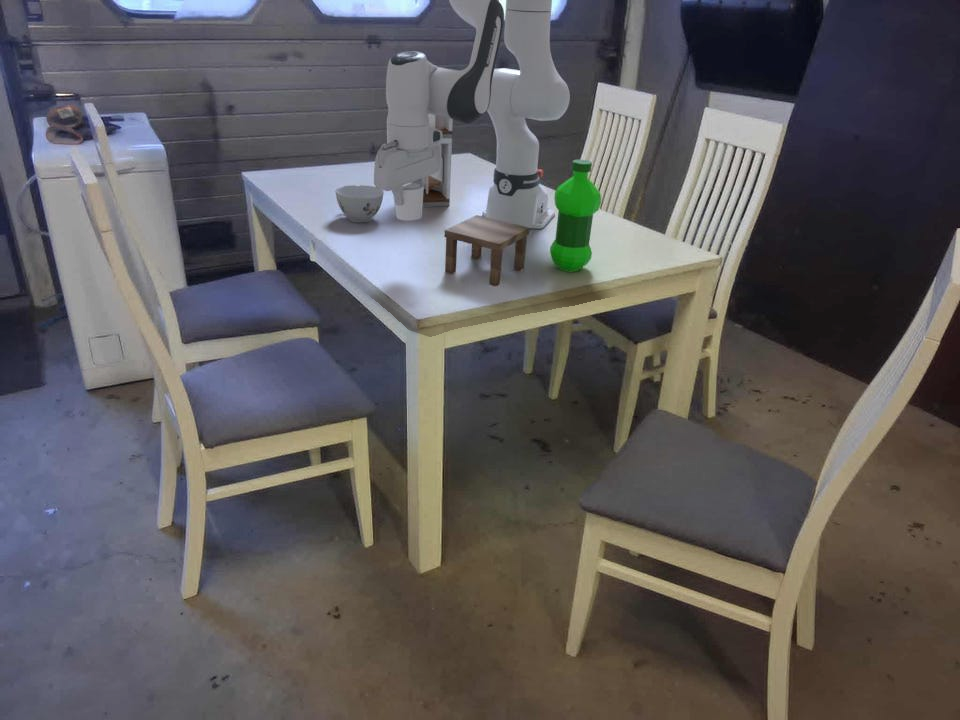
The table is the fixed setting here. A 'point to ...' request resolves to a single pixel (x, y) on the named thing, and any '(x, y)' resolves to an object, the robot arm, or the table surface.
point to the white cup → (411, 202)
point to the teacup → (359, 201)
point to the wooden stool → (486, 243)
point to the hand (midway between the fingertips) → (408, 201)
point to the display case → (440, 181)
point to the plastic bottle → (575, 218)
